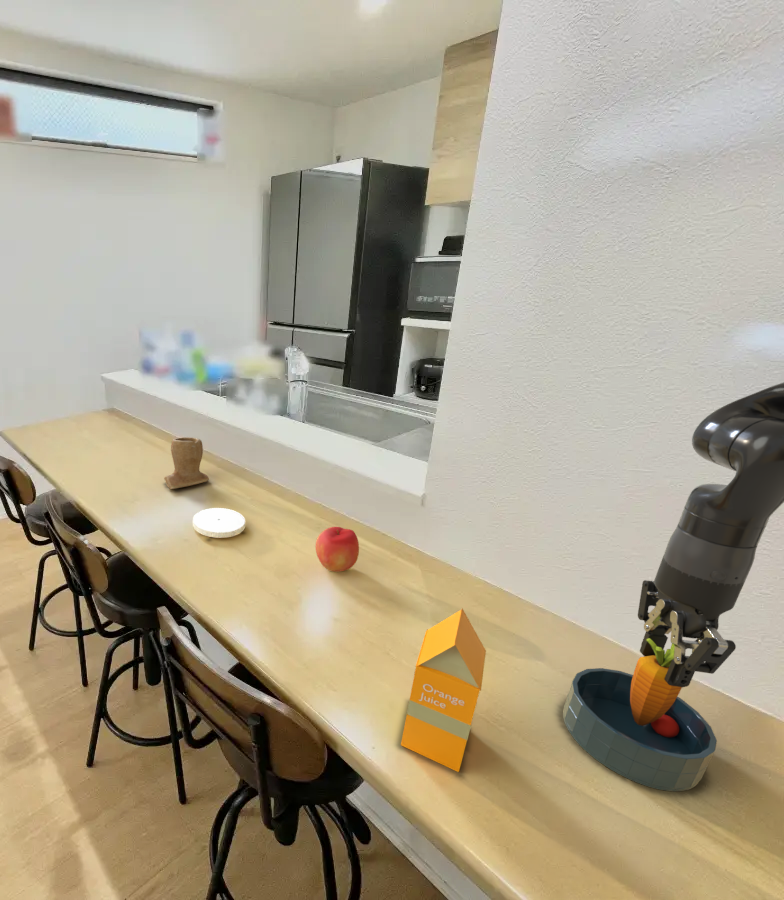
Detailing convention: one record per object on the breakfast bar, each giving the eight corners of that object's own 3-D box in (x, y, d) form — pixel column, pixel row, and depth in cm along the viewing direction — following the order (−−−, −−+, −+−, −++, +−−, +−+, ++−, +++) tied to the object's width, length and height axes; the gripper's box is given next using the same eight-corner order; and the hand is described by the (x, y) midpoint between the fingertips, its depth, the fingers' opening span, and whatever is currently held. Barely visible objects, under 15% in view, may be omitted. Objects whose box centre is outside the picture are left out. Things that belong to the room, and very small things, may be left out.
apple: (358, 562, 116) (363, 525, 113) (353, 584, 108) (358, 544, 105) (317, 553, 120) (320, 517, 116) (309, 574, 112) (312, 535, 108)
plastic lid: (230, 546, 123) (230, 537, 122) (182, 532, 130) (182, 523, 129) (253, 523, 134) (253, 515, 134) (208, 511, 141) (208, 503, 140)
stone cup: (195, 472, 169) (195, 430, 164) (213, 484, 160) (214, 440, 154) (155, 480, 163) (154, 437, 158) (172, 494, 153) (171, 448, 148)
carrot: (629, 735, 71) (662, 652, 66) (609, 707, 75) (639, 627, 70) (670, 742, 70) (707, 658, 65) (648, 713, 74) (681, 633, 69)
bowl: (683, 725, 74) (697, 694, 72) (716, 814, 62) (734, 780, 60) (559, 683, 82) (568, 654, 80) (567, 755, 70) (578, 723, 68)
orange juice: (399, 745, 71) (421, 632, 64) (411, 703, 78) (432, 597, 71) (460, 773, 67) (490, 656, 60) (467, 726, 74) (494, 617, 67)
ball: (657, 734, 70) (668, 744, 71) (678, 725, 69) (689, 735, 70) (641, 715, 73) (651, 725, 74) (661, 706, 72) (671, 716, 73)
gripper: (789, 603, 56) (734, 716, 62) (698, 540, 69) (660, 638, 75) (709, 594, 58) (662, 705, 63) (635, 534, 71) (602, 631, 76)
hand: (661, 668), depth 69 cm, fingers closed on carrot, 5 cm apart
